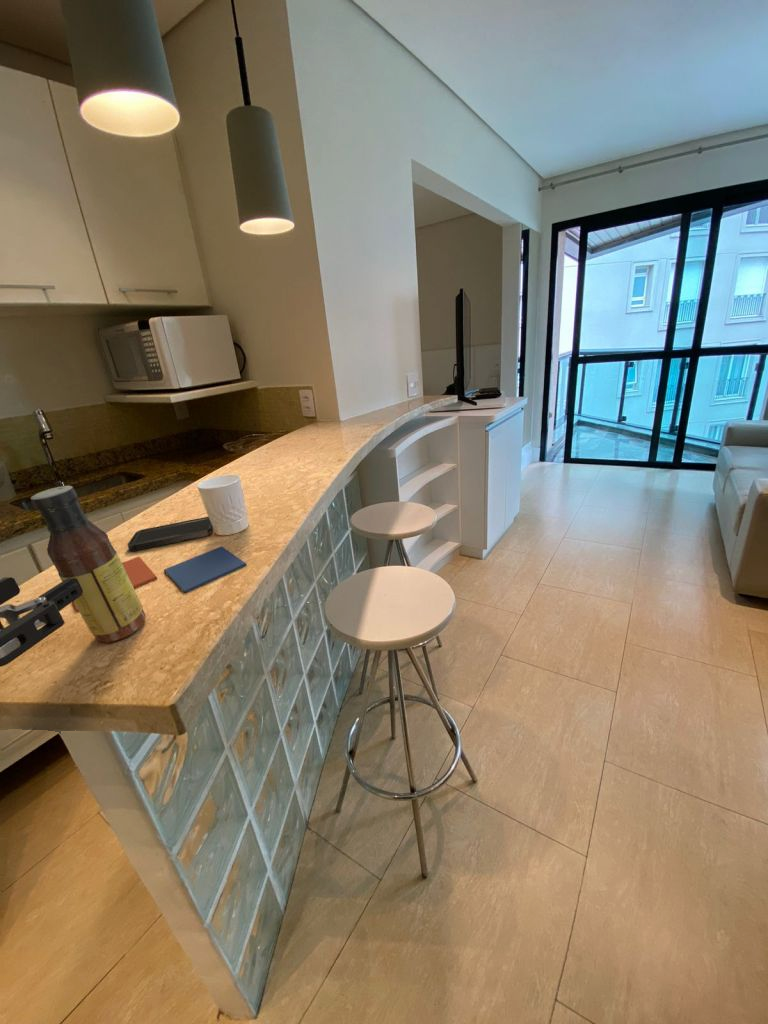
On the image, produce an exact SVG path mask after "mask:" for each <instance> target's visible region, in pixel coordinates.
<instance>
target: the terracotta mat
mask: <svg viewBox="0 0 768 1024" xmlns="http://www.w3.org/2000/svg"><path fill="white" fill-rule="evenodd" d="M121 563H122V565H123V567H124V569H125V571H126V573H127V575H128V577H129V579H130V581H131V584H132V586H133V588H134V589H136V588H138V587H140V586H143V585H145V584H147V583H150V582H152V581H155V580H157V579H158V576H157V575H156V574H155V573H154V572H153V570H152V569H151V568H150V567H149V566H148V565H147V564H146V562H145V561H144V560H143V559H142V558H141V557H140V556H136V557H134V558H131V559H129V560H125V561H122V562H121ZM72 603H73V605H74V607H75V609H76V612H77V613H79V610H78V609H77V607H76V605H75V603H74V601H73V602H72Z"/></svg>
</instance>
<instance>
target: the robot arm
mask: <svg viewBox="0 0 768 1024" xmlns="http://www.w3.org/2000/svg"><path fill="white" fill-rule="evenodd" d="M20 593H21V588H20V587H19V585H18V583H17V581H16V580H15V578H14V577H8V576H7V577H5V576H4V577H3V578H1V579H0V619H4V620H6V622H7V623H8V625H7V626H5V627H4V625H3V623H2V622H1V620H0V668H1V667H4V666H7V665H8V664H11V662H13V661H15V660H16V659H18V658H19V657H20V656H22V655H23V654H25V653H26V652H27V651H28V650H30V649H31V648H33V647H34V646H36V645H37V644H39V643H40V642H42V641H43V640H45V639H46V638H47V637H49V636H50V635H51V634H53V633H55V631H57V630H59V629H60V628H62V627H63V626H64V625H65V623H66V622H65V620H64V618H63V616H62V614H61V611H62V610H63V609H64V608H66V607H67V606H69V605H70V604H71V603H74V602H73V601H74V600H76V599H77V598H79V597H80V596H81V595H82V593H83V590H82V588H81V586H80V584H79V581H78V580H77V579H76V578H67V579H66V580H64V581H63V582H62V581H61V582H60V583H58V584H56V585H55V586H53V587H52V588H49V590H47V591H45V592H43V593H42V594H41V595H39V596H38V597H36V598H34V599H31V600H28V601H26V602H22V603H21V604H18V605H14V604H12V603H7V604H5V603H6V602H8V601H10V600H11V599H13V598H15V597H16V596H18V595H19V594H20ZM22 614H24V615H23V616H21V617H20V615H22Z"/></svg>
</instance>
